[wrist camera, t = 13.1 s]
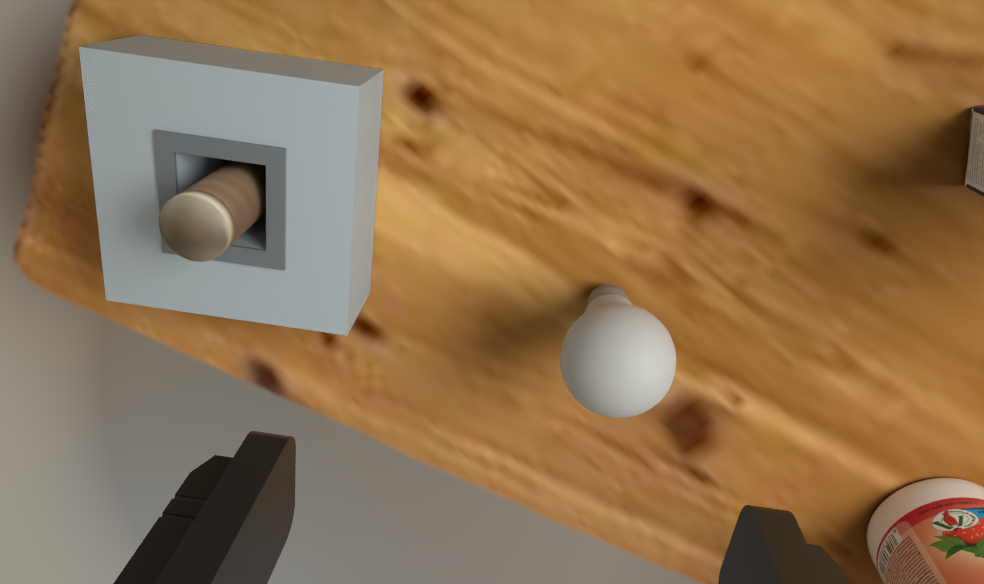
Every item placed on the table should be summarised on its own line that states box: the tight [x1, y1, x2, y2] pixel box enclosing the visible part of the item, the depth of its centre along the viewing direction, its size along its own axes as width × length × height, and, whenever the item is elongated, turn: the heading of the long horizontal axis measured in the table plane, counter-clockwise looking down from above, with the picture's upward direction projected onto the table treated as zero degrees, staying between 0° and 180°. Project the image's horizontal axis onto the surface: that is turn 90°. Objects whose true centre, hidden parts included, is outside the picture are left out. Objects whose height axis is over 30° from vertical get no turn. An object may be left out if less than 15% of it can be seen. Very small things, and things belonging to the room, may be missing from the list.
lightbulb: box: [560, 285, 676, 418], centre depth 41 cm, size 6×6×11 cm
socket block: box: [79, 35, 384, 335], centre depth 42 cm, size 14×14×6 cm
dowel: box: [159, 160, 266, 262], centre depth 40 cm, size 3×3×10 cm
